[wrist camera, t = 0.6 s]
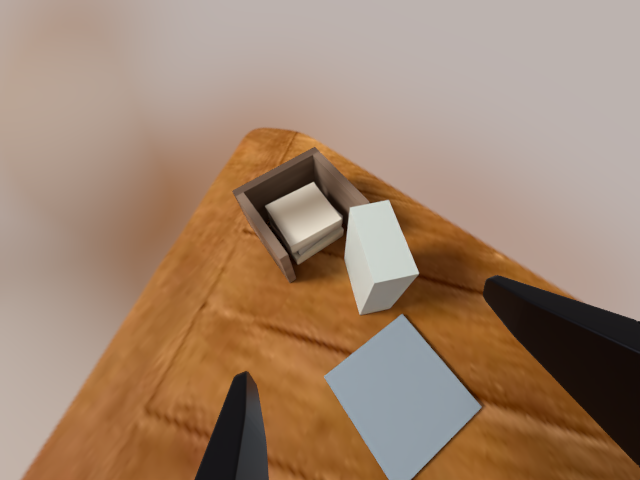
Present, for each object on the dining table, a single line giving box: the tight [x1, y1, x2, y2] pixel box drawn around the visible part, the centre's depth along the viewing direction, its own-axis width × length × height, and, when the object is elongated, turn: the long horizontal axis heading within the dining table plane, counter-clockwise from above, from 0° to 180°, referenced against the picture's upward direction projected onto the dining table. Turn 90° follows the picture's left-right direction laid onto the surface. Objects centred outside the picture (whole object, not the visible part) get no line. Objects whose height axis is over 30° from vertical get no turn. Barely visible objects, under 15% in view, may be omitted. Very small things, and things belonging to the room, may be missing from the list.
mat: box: [324, 314, 481, 480], centre depth 22 cm, size 9×9×1 cm
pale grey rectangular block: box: [344, 200, 419, 315], centre depth 22 cm, size 6×3×10 cm, turn 12°
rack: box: [232, 147, 370, 283], centre depth 27 cm, size 9×10×6 cm
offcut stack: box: [265, 182, 344, 265], centre depth 28 cm, size 6×6×4 cm
